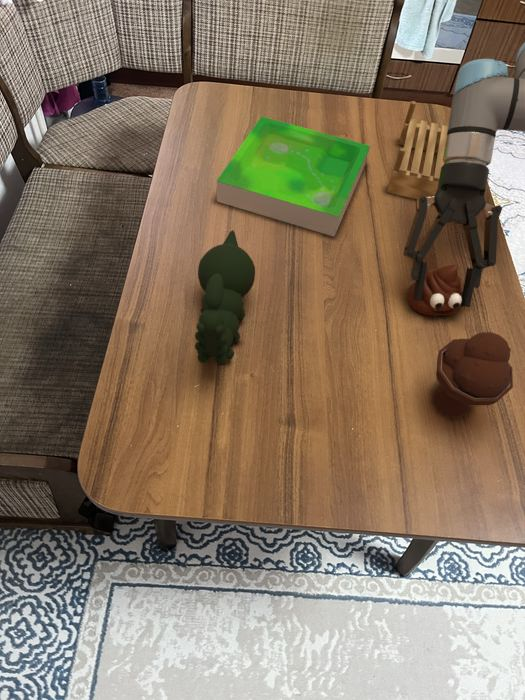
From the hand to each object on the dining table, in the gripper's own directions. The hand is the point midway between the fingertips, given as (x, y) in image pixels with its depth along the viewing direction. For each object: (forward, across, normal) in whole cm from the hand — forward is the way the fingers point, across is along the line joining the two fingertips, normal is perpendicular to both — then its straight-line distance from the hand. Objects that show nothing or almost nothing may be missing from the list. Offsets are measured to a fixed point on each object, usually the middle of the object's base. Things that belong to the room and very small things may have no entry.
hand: (440, 303), depth 91 cm
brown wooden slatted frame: (-27, -1, -32) cm, 42 cm away
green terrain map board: (-20, +27, -26) cm, 43 cm away
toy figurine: (+8, +37, +2) cm, 38 cm away
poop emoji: (0, 0, -5) cm, 5 cm away
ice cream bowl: (+15, -2, +9) cm, 18 cm away
